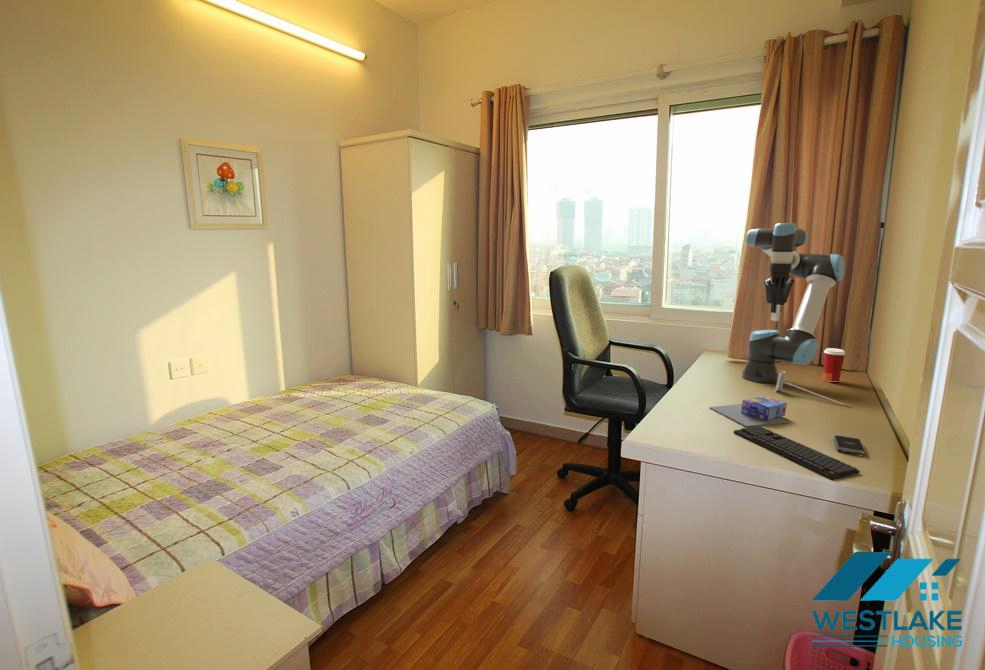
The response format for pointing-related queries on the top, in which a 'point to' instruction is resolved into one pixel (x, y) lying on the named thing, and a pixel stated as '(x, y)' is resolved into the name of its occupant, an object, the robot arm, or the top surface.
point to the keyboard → (797, 453)
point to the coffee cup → (833, 364)
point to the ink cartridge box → (764, 408)
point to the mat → (744, 416)
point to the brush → (781, 381)
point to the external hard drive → (849, 445)
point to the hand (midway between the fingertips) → (774, 320)
